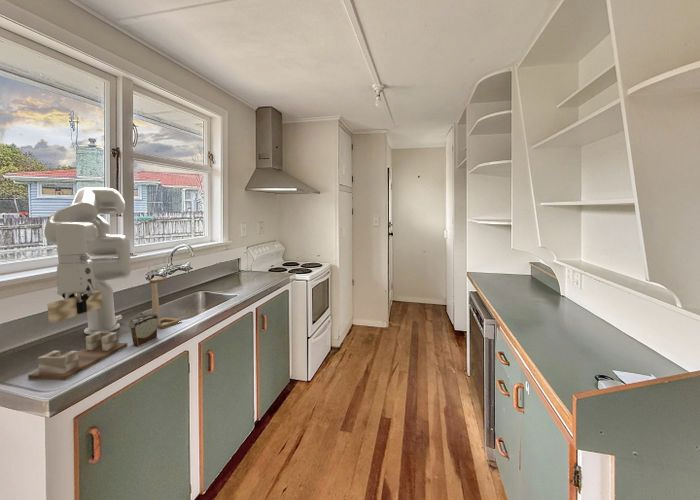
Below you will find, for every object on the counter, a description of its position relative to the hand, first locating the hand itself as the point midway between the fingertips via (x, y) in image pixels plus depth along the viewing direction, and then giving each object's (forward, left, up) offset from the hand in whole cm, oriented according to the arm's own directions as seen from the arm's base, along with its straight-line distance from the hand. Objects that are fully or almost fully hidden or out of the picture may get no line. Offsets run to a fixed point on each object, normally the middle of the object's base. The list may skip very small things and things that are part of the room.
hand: (77, 312), depth 111 cm
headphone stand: (-38, +5, -18) cm, 42 cm away
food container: (-18, +9, -18) cm, 27 cm away
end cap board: (0, 0, -17) cm, 17 cm away
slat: (0, 0, -1) cm, 1 cm away
